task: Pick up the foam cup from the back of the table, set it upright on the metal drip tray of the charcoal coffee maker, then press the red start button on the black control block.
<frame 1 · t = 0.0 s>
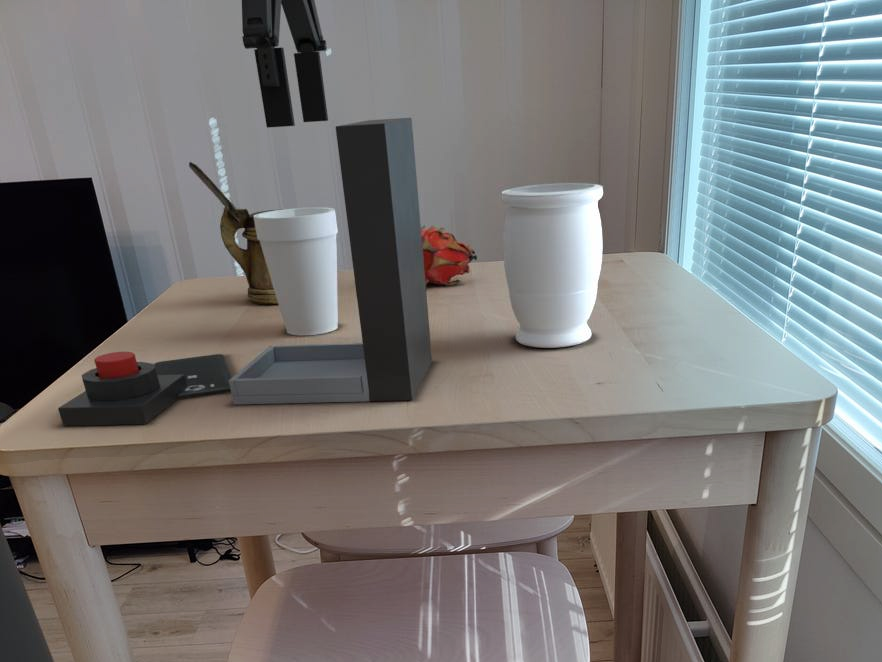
hand: (299, 124, 92), 22 cm above the table, tool pointing down, fingers open, 13 cm apart
start button: (117, 365, 80), point 4 cm above the table, slide at 0.1 cm
coffee maker: (318, 383, 86), on the table
smartphone: (194, 383, 91), on the table
foam cup: (312, 330, 106), on the table
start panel: (128, 408, 82), on the table
jar: (553, 341, 95), on the table
dragon fruit: (438, 285, 127), on the table
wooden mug: (266, 301, 124), on the table
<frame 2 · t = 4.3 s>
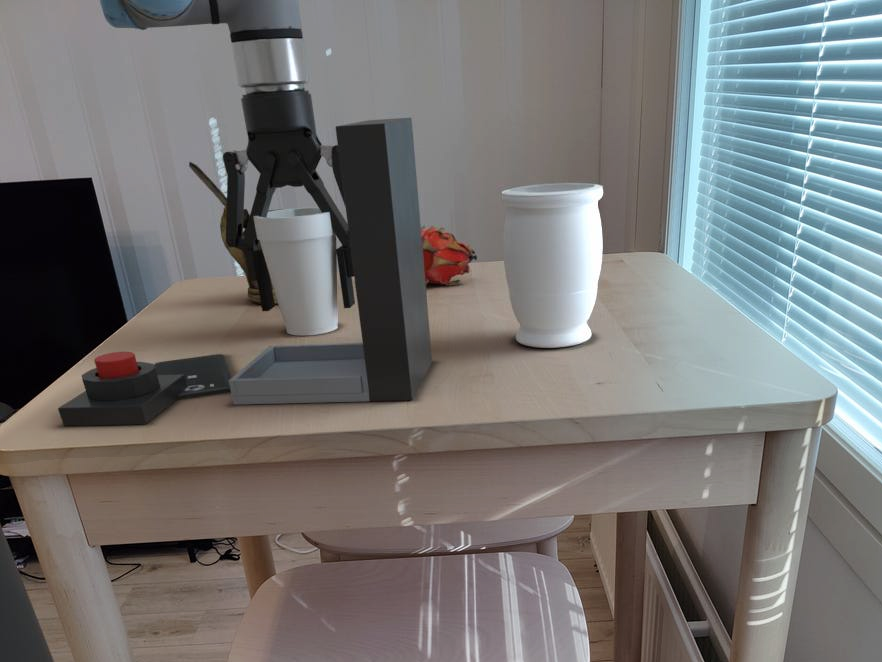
hand: (309, 307, 105), 3 cm above the table, tool pointing down, fingers closed on foam cup, 9 cm apart
foam cup: (312, 330, 106), on the table, touching gripper
everything else where it was.
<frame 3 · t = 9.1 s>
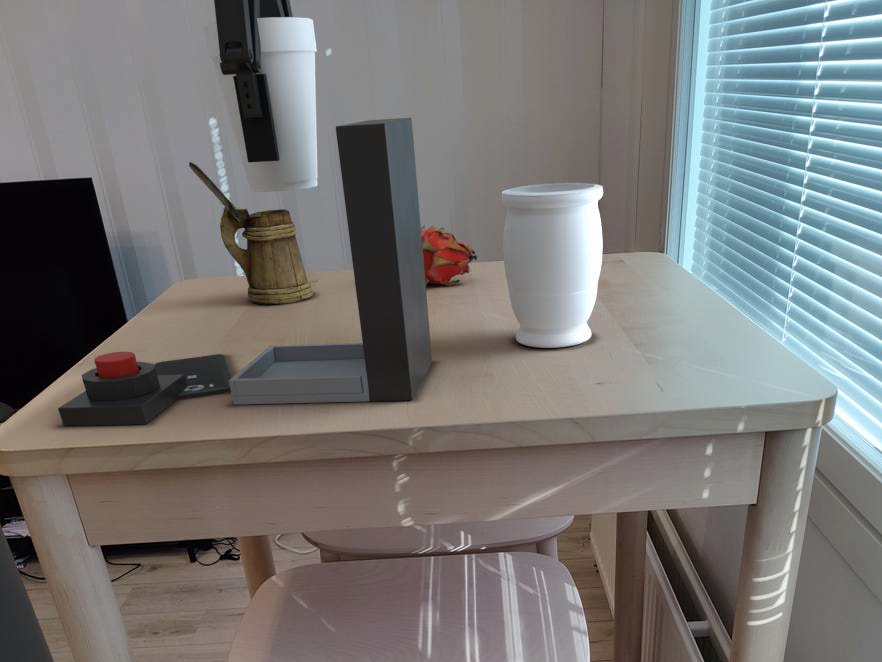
hand: (279, 157, 81), 19 cm above the table, tool pointing down, fingers closed on foam cup, 9 cm apart
foam cup: (284, 190, 83), point 17 cm above the table, touching gripper
everything else where it was.
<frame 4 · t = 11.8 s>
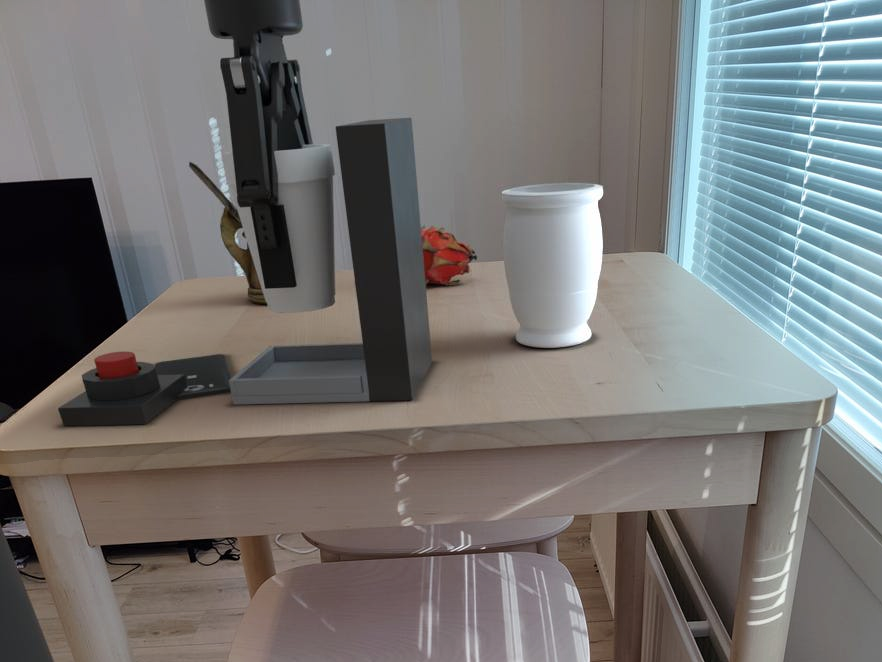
hand: (296, 276, 81), 10 cm above the table, tool pointing down, fingers closed on foam cup, 9 cm apart
foam cup: (302, 307, 82), point 7 cm above the table, touching gripper
everything else where it was.
when the fingers open (3 cm above the table, at t = 13.9 s): foam cup stays where it is, resting on coffee maker.
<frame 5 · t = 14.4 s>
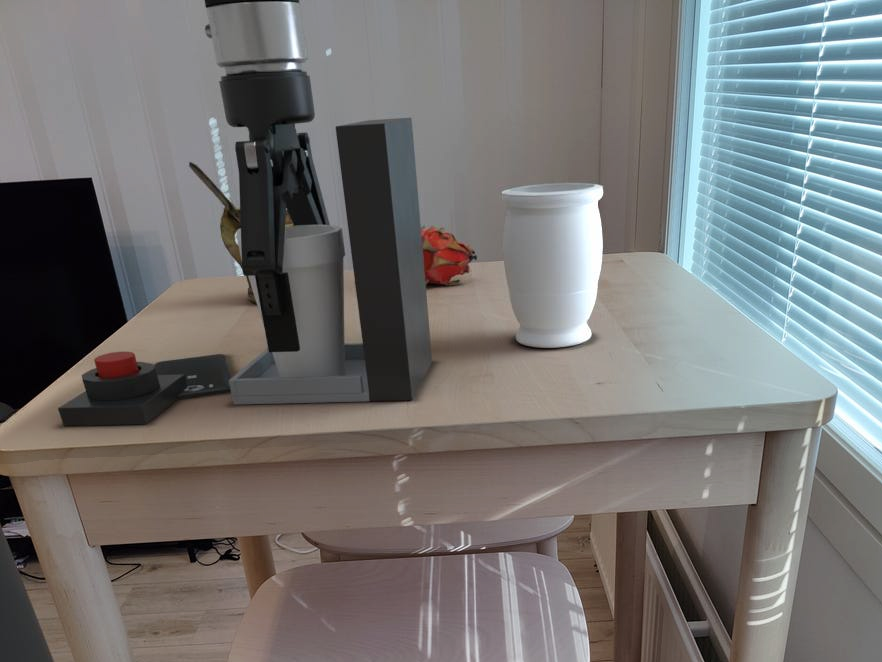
hand: (305, 333, 83), 5 cm above the table, tool pointing down, fingers open, 13 cm apart
foam cup: (313, 377, 86), point 1 cm above the table, touching coffee maker
everything else where it was.
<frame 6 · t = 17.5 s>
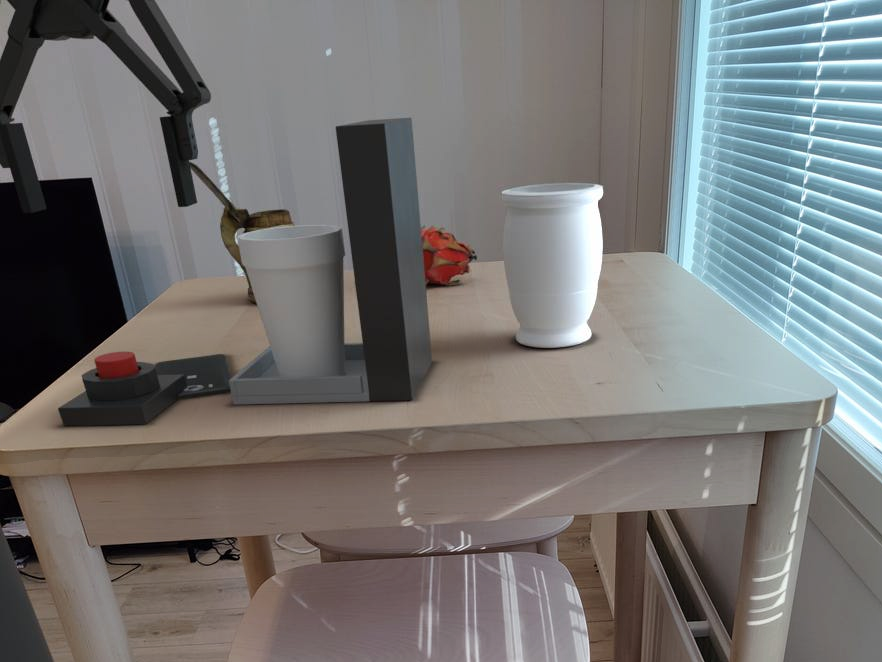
hand: (111, 208, 74), 17 cm above the table, tool pointing down, fingers open, 13 cm apart
nothing on the table moved.
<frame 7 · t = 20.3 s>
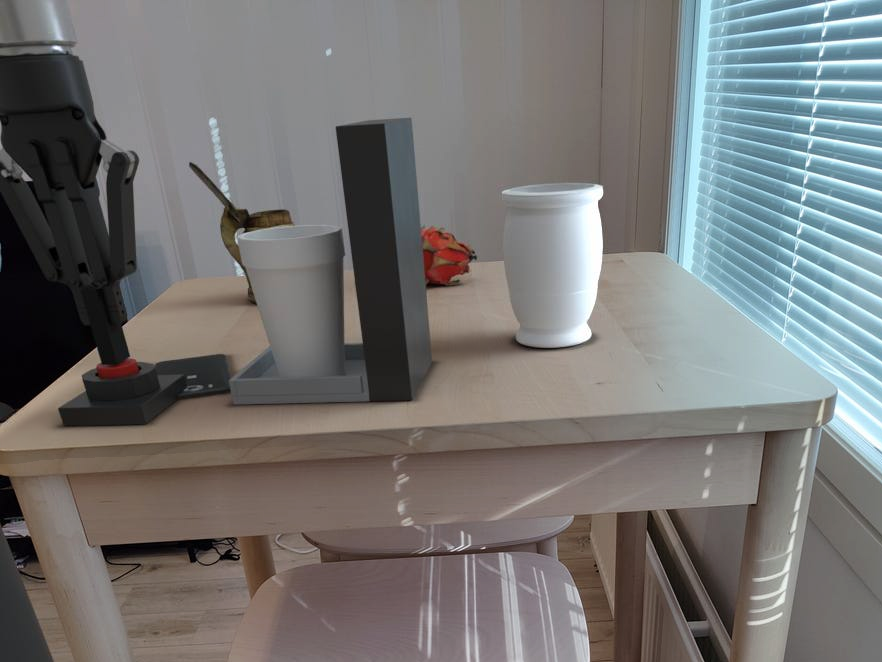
hand: (116, 360, 80), 5 cm above the table, tool pointing down, fingers closed
start button: (118, 372, 81), point 3 cm above the table, slide at -0.5 cm, touching gripper
everything else where it was.
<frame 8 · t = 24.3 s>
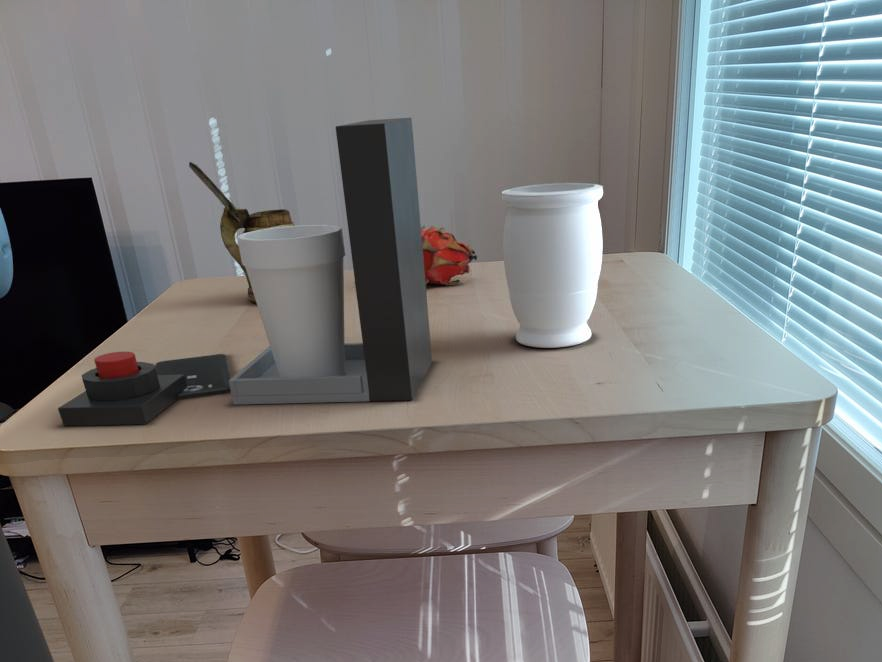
start button: (117, 365, 80), point 4 cm above the table, slide at 0.1 cm
everything else where it was.
at the end: foam cup 0.2 cm off-centre on the coffee maker, point 0.6 cm above the coffee maker's base; foam cup tilted 0°; start button pushed in 0.8 cm at the most during the clip, back to where it started at the end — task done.
